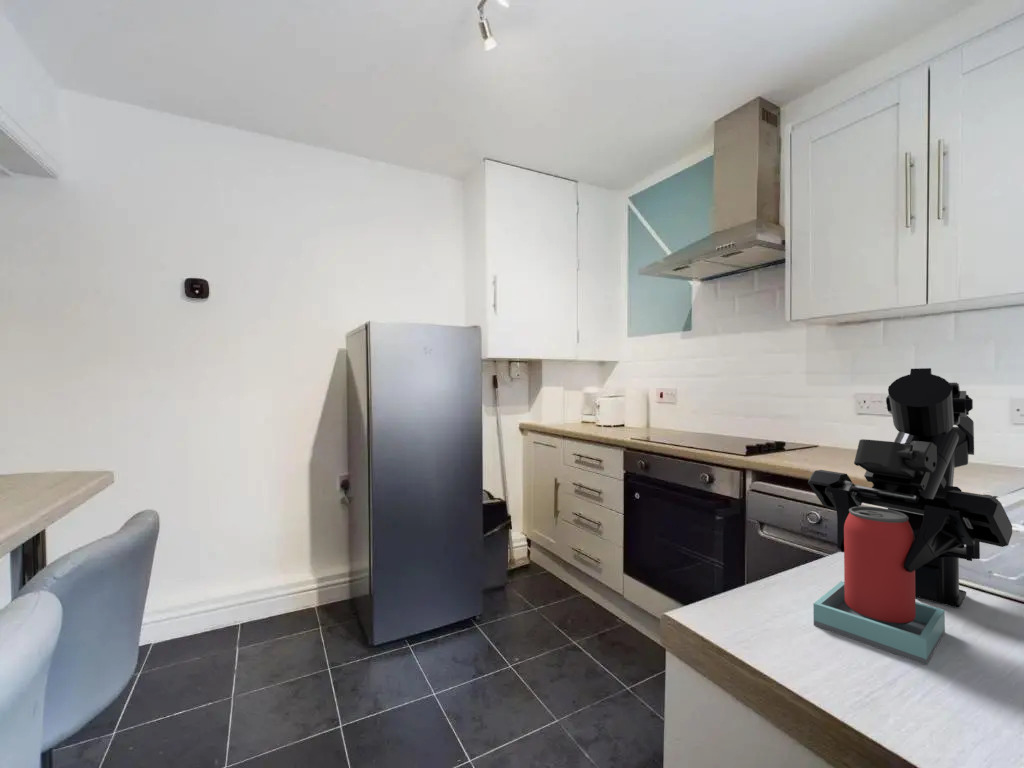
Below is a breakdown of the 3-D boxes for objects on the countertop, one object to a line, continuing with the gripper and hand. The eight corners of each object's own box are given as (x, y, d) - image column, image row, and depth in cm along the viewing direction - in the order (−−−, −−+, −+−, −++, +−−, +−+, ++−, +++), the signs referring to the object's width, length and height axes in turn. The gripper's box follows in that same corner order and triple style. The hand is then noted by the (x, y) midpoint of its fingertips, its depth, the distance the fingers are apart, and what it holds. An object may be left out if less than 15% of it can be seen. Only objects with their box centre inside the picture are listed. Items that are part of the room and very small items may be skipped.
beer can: (846, 595, 59) (845, 502, 59) (914, 610, 55) (913, 511, 55) (842, 615, 54) (842, 513, 54) (917, 634, 49) (916, 524, 50)
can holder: (841, 600, 61) (841, 581, 61) (944, 632, 53) (944, 610, 53) (813, 625, 55) (813, 603, 55) (926, 665, 47) (926, 639, 47)
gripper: (815, 412, 64) (765, 499, 59) (999, 421, 48) (951, 543, 43) (847, 463, 68) (802, 549, 63) (1030, 488, 51) (989, 608, 46)
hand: (871, 559), depth 54 cm, fingers closed on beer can, 6 cm apart
